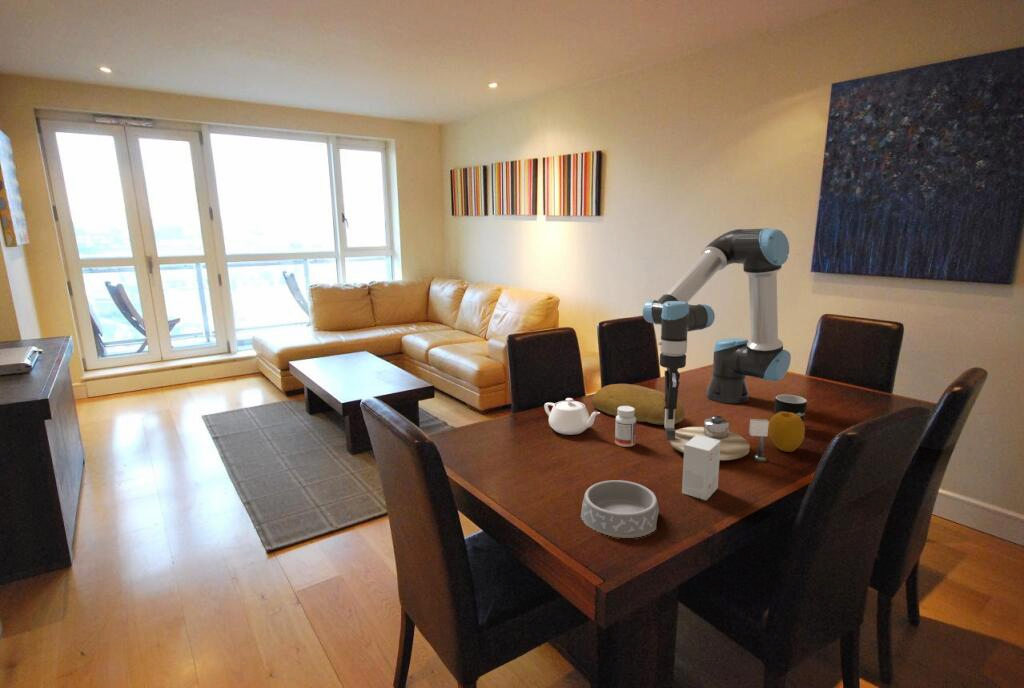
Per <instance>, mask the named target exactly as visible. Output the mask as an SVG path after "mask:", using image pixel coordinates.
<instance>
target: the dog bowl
mask: <svg viewBox="0 0 1024 688" xmlns="http://www.w3.org/2000/svg"><path fill="white" fill-rule="evenodd" d="M583 496H584V497H583V499H582V504H581V512H580V519H581V518H582V519H581V521H582V520H583V521H584V522H583V521H582V522H583V523H584V525H585V526H587V527H588V526H589V527H590V528H592V529H593V530H592V529H591V530H592V531H594V530H596V531H597V532H600V533H603V534H605V535H609V536H613V537H621V538H634V537H641V536H645V535H647V534H650V533H651V532H654V531H655V530H656V531H657V523H658V516H659V515H660V508H659V504H658V499H657V497H656V494H655V493H654V492H653V491H652V490H651V489H649V488H647V487H646V486H644V485H642V484H640V483H636V482H633V481H628V480H621V479H618V480H615V479H614V480H612V479H611V480H603V481H600V482H596V483H594V484H593V485H590V487H588V488H587V489H586V491H585V493H584V495H583ZM589 527H588V528H589ZM590 528H589V529H590ZM656 531H655V532H656ZM597 532H596V533H597ZM655 532H654V533H655ZM600 533H599V534H600ZM605 535H604V536H605ZM650 535H651V534H650ZM609 536H608V537H609ZM613 537H612V538H613ZM645 537H646V536H645ZM641 538H642V537H641Z"/></svg>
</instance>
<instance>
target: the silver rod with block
mask: <svg viewBox="0 0 1024 688" xmlns="http://www.w3.org/2000/svg"><path fill="white" fill-rule="evenodd" d="M769 421H770V420H768V419H767V418H766V419H765V418H763V419H761V418H750V419H749V428H748V429H749V430H748V434H749V435H750V437H751V436H752V437H758V439H759V440H758V447H757V448H758V449H757V453H755V454H754V456H753V459H754V460H755V461H756V462H761V463H763V462H766V460H767V456H766V455H765V454H763V453H764V444H765V437H769V434H768V425H769Z"/></svg>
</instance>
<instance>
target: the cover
mask: <svg viewBox="0 0 1024 688" xmlns="http://www.w3.org/2000/svg"><path fill="white" fill-rule="evenodd" d="M703 422H704V423H703V427H704V435H705V436H707V437H710V438H714V439H725V438H727V437H728V433H729V432H730V431H729V430H730V421H728V420H726V419H723V417H722V416H720V415H711V417H710V418H705V419H704V421H703Z"/></svg>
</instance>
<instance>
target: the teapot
mask: <svg viewBox="0 0 1024 688" xmlns="http://www.w3.org/2000/svg"><path fill="white" fill-rule="evenodd" d="M549 406H550V407H551V406H552V409H551V410H550V409H549ZM543 407H544V411H545V413H546V414H547V416H548V425H549V426H550V428H552V429H553V430H554V431H555V432H556V433H559V434H561V435H570V436H571V435H573V436H574V435H579V434H581V433H583V432H585V431H586V430H587V429H588V428H590V427H592V426H593V424H594V422H595V419H596V416H597V415H599V414H601V411H600V412H599V411H593V412H592V413H591V415H590V413H589V411H588V409H587V406H586V405H585V404H584V403H582V402H580V401H577V400H574V398H572V397H566V398H565V400H560V401H558V402H555V403H554V402H546V403H544V405H543Z"/></svg>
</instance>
